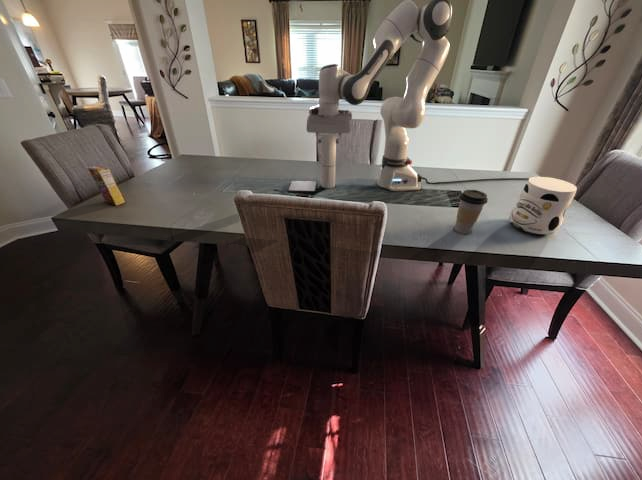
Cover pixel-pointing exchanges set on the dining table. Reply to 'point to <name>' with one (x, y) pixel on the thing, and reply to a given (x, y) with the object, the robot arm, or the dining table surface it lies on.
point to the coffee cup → (469, 210)
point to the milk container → (542, 205)
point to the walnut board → (302, 187)
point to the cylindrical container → (328, 159)
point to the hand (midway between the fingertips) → (328, 143)
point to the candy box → (106, 185)
